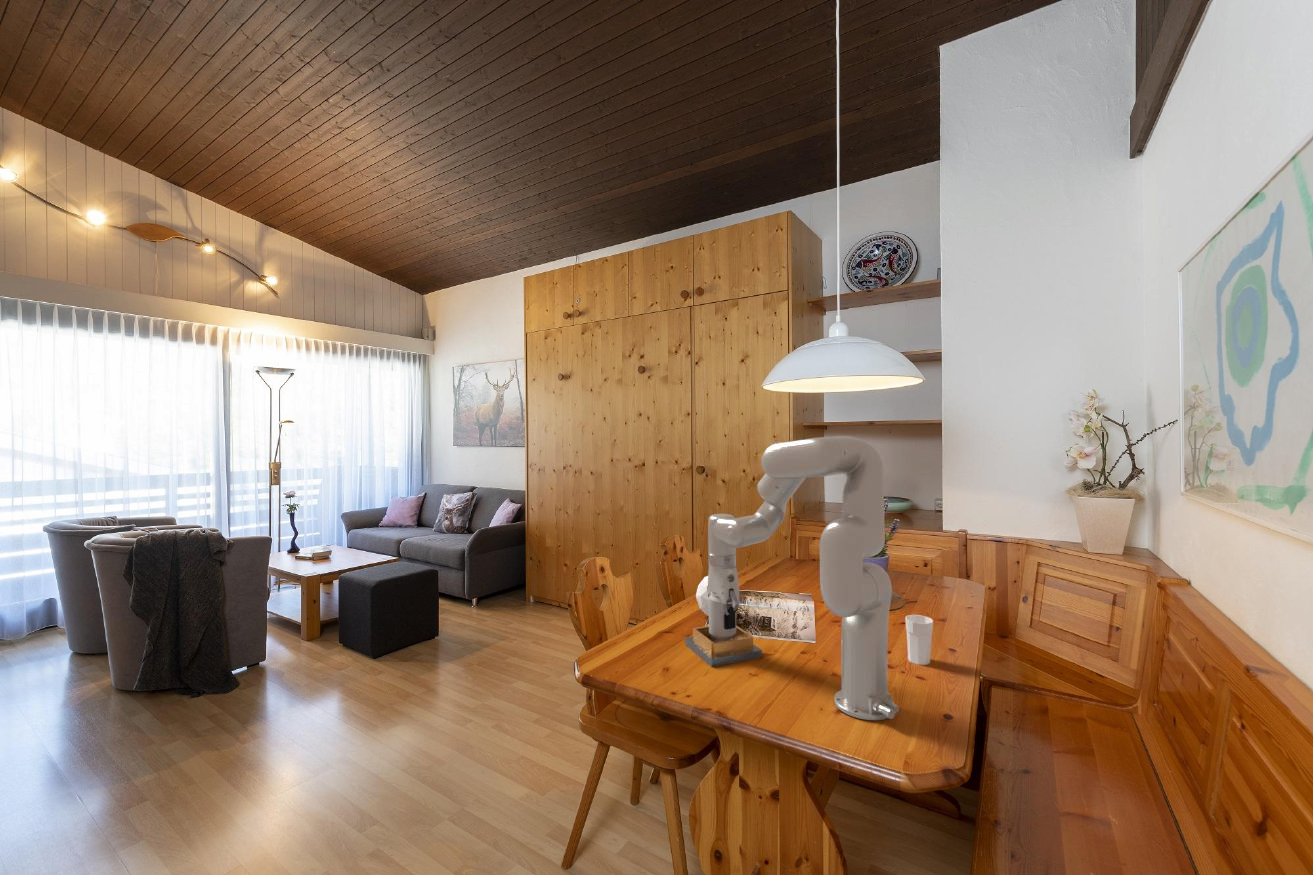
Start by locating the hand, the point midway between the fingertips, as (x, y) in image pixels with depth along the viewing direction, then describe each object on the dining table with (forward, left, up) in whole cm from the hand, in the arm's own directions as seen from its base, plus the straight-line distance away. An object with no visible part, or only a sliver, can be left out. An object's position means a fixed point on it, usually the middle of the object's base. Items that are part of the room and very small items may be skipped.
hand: (722, 622), depth 155 cm
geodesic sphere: (+25, -12, -8) cm, 29 cm away
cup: (-26, -44, -8) cm, 52 cm away
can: (0, 0, -4) cm, 4 cm away
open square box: (0, 0, -8) cm, 8 cm away
